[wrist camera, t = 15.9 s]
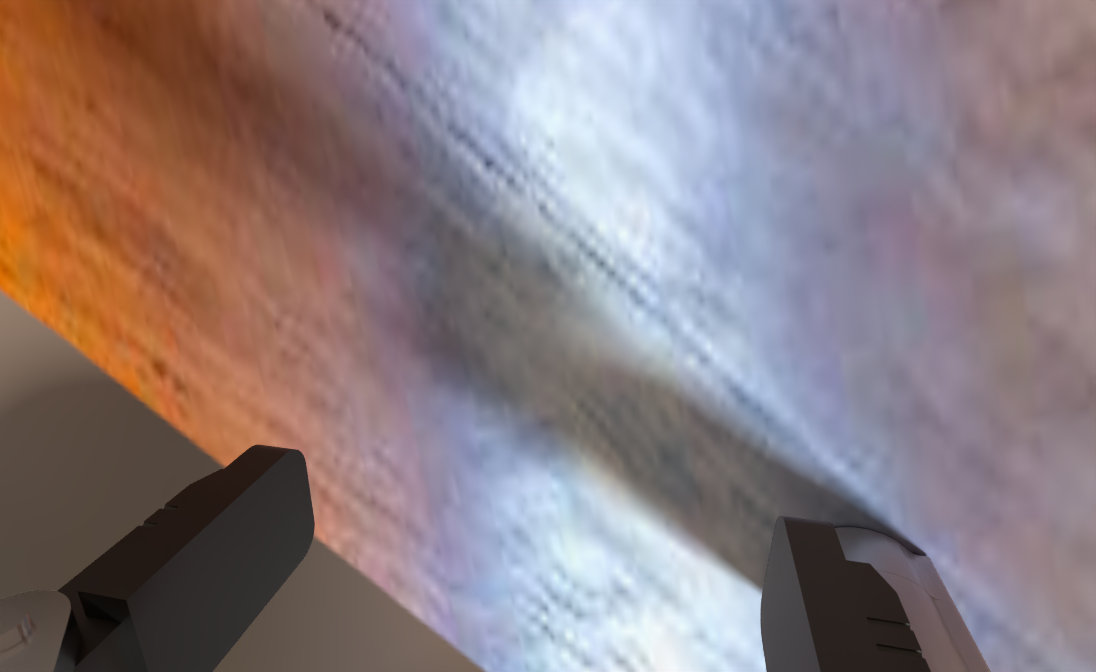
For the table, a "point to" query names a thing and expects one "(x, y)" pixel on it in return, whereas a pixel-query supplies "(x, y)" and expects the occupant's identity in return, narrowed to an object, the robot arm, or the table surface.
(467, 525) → the table surface
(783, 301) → the table surface
